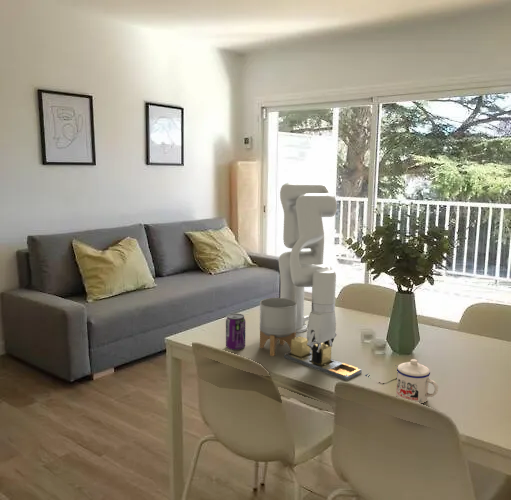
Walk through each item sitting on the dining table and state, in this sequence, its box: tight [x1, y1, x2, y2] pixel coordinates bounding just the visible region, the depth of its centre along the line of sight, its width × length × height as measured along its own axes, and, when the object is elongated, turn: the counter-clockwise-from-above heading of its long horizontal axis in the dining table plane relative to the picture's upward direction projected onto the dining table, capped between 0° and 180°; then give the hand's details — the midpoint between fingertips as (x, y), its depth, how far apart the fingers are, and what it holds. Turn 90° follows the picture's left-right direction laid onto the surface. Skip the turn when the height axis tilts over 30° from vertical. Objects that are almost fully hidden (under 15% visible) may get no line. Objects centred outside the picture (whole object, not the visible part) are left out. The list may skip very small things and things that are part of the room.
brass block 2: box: [312, 343, 333, 366], centre depth 169 cm, size 4×4×6 cm
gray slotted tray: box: [283, 350, 362, 381], centre depth 169 cm, size 8×26×2 cm, turn 45°
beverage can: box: [225, 313, 246, 351], centre depth 184 cm, size 7×7×12 cm
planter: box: [259, 297, 297, 357], centre depth 181 cm, size 13×13×18 cm
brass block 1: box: [290, 335, 311, 359], centre depth 175 cm, size 4×4×6 cm
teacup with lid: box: [395, 358, 439, 404], centre depth 145 cm, size 12×9×12 cm
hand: (321, 359), depth 169 cm, fingers closed on brass block 2, 4 cm apart
